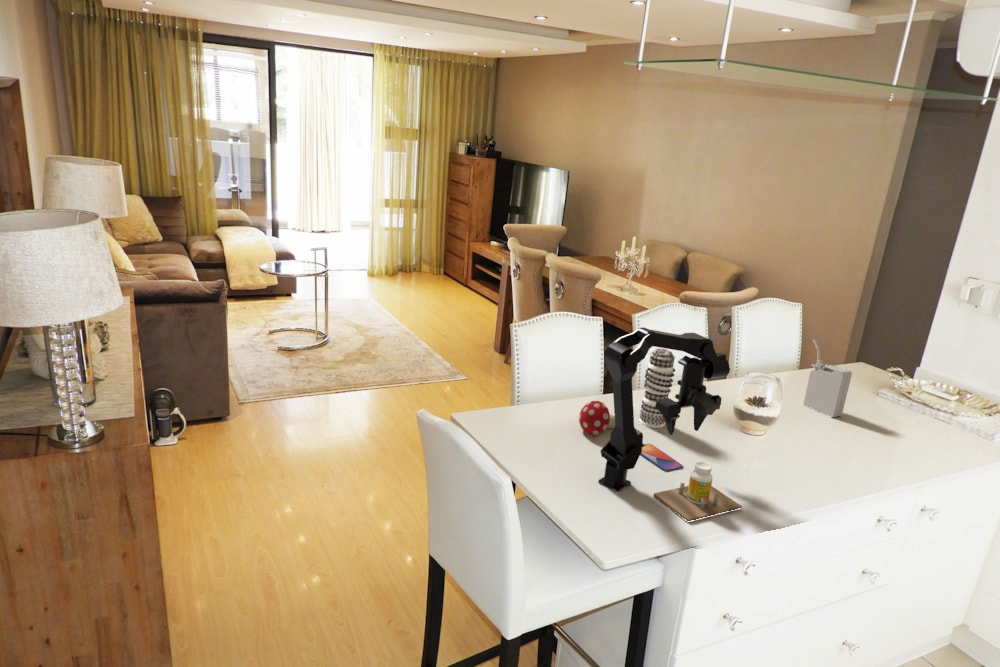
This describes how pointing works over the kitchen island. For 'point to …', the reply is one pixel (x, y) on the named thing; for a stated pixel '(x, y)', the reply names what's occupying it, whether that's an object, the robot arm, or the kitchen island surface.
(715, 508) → the pin tray
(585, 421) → the decorative mushroom
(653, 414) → the decorative candle
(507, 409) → the kitchen island surface
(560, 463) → the kitchen island surface
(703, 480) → the supplement bottle
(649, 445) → the smartphone
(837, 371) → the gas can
